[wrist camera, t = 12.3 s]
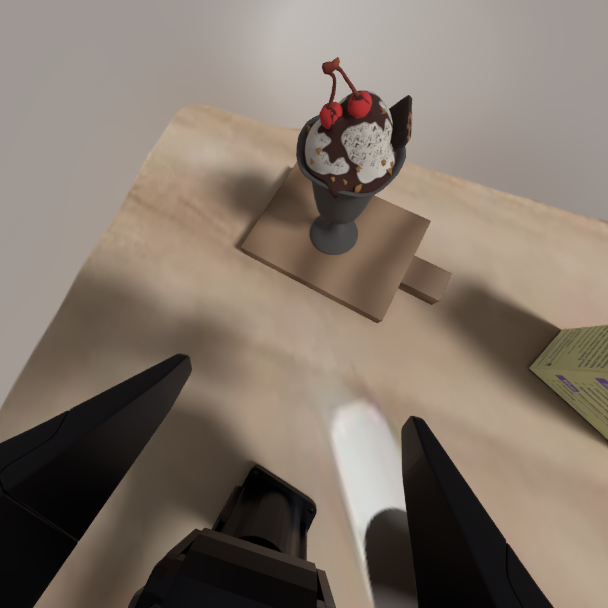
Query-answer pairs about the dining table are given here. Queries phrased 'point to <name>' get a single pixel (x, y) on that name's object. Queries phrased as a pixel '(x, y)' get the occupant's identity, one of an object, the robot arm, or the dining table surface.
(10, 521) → the robot arm
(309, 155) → the sundae
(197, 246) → the dining table surface
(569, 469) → the dining table surface
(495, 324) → the dining table surface
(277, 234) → the board
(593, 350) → the box
